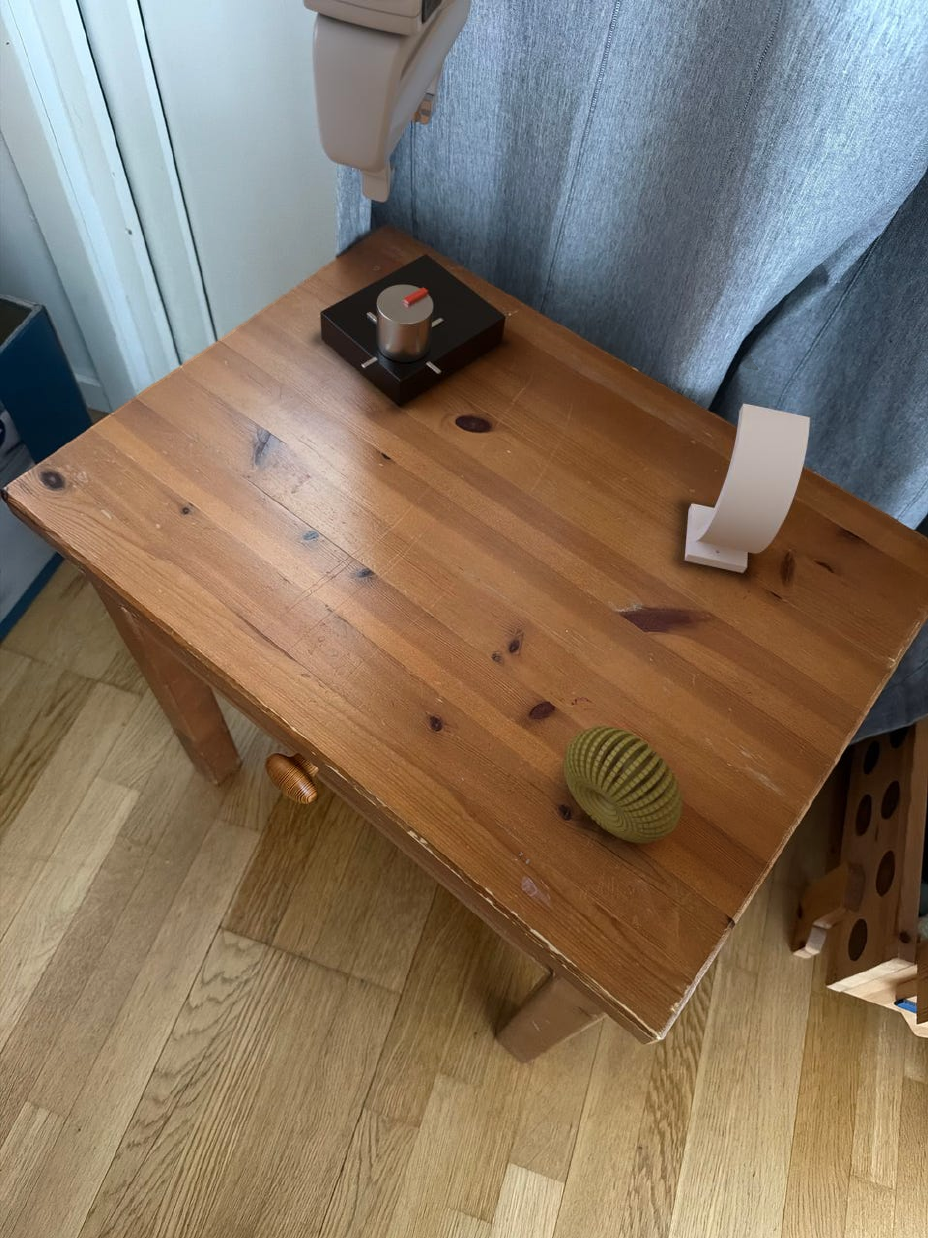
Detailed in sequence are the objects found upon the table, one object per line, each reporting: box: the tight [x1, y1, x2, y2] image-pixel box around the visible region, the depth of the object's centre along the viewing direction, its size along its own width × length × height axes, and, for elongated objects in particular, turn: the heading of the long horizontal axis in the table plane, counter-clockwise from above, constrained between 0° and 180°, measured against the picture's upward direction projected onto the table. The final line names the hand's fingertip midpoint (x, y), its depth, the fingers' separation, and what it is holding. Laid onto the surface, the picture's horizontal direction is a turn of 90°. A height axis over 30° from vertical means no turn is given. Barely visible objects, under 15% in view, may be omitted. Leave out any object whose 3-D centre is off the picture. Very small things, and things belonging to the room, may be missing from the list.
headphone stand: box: [684, 403, 811, 574], centre depth 64 cm, size 5×6×12 cm
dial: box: [376, 285, 433, 362], centre depth 71 cm, size 4×4×4 cm
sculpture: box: [562, 725, 684, 844], centre depth 55 cm, size 8×4×8 cm, turn 46°
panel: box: [319, 253, 507, 408], centre depth 76 cm, size 13×11×3 cm
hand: (400, 154), depth 62 cm, fingers open, 8 cm apart
